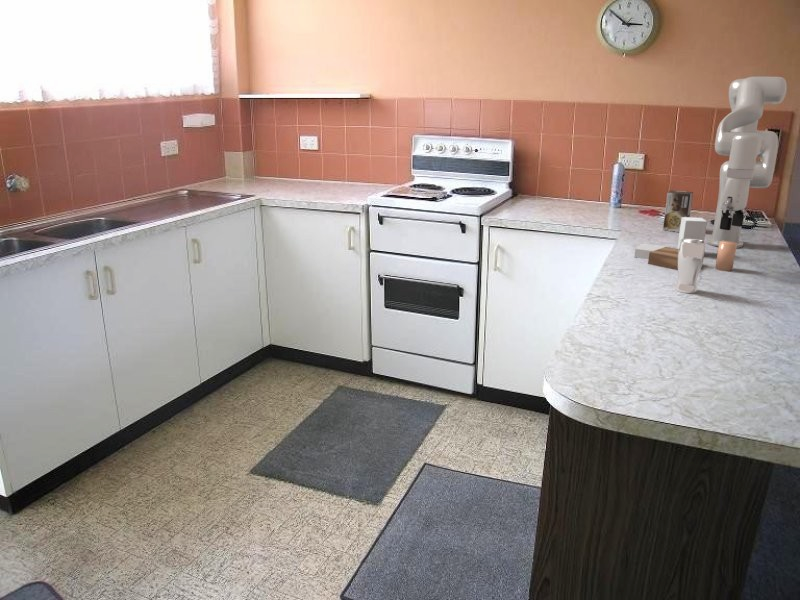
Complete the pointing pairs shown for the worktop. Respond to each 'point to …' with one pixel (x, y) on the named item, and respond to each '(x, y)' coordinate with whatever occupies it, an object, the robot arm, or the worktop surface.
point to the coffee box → (677, 209)
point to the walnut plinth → (664, 258)
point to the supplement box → (692, 229)
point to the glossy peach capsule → (726, 255)
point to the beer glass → (689, 264)
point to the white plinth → (646, 250)
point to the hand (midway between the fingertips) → (730, 227)
